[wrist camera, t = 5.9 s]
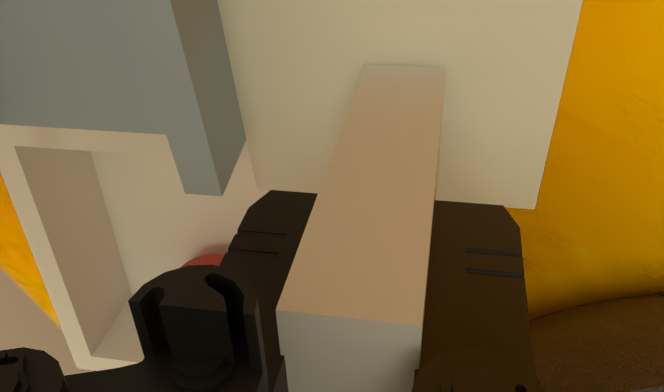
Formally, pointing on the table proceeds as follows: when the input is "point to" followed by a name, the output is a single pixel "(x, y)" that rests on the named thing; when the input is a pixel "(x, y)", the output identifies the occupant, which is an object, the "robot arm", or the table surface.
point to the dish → (111, 225)
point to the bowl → (602, 346)
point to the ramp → (292, 81)
